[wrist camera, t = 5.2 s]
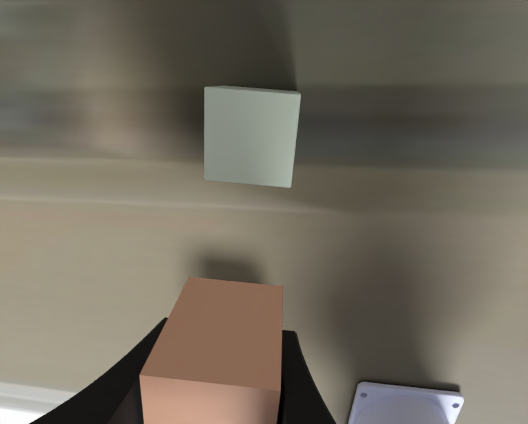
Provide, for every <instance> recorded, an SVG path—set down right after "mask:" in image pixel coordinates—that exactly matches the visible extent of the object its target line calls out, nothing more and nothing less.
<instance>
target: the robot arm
mask: <svg viewBox="0 0 528 424" xmlns="http://www.w3.org/2000/svg"><path fill="white" fill-rule="evenodd" d="M167 319H168V318H164V319H163V320H162V321H161V322H160V323H159V324H158V325H157V326H156V327H155V328H154V329H153V330H152V331H151V332H150V333H149V334H148V335H147V336H146V337H145V338H144V339H143V340H142V341H140V342H139V343H138V344H137V345H136V346H135V347H134V348H133V349H132V350H131V351H130V352H129V353H128V354H127V355H125V356H124V357H123V358H122V359H121V360H120V361H119V362H117V363H116V364H115V365H114V366H113V367H111V368H110V369H109V370H108V371H107V372H106V373H104V374H103V375H102V376H100V377H99V378H98V379H97V380H95V381H94V382H93V383H91V384H90V385H89V386H87V387H86V388H85V389H83V390H82V391H80V392H79V393H78V394H76V395H75V396H73V397H72V398H70V399H69V400H67V401H66V402H64V403H63V404H61V405H59V406H58V407H56V408H55V409H53V410H52V411H50V412H48V413H47V414H45V415H43V416H42V417H40V418H38V419H37V420H35V421H33V422H31V423H30V424H144V418H143V408H142V397H141V387H140V376H139V375H140V373H141V371H142V369H143V367H144V365H145V363H146V361H147V359H148V357H149V355H150V353H151V351H152V349H153V347H154V345H155V343H156V341H157V339H158V337H159V335H160V333H161V331H162V329H163V327H164V325H165V323H166V321H167ZM463 402H464V398H463V396H462V394H461V393H459V392H452V391H443V390H433V389H424V388H415V387H406V386H397V385H388V384H379V383H370V382H361V383H359V384H358V386H357V390H356V394H355V398H354V402H353V406H352V410H351V414H350V418H349V422H348V424H454V423H455V421H456V419H457V416H458V414H459V412H460V409H461V407H462V405H463ZM277 424H336V422H335V421H334V419H333V417H332V415H331V414H330V412H329V410H328V409H327V407H326V405H325V403H324V401H323V399H322V397H321V395H320V393H319V391H318V389H317V387H316V385H315V383H314V381H313V379H312V376H311V374H310V372H309V369H308V367H307V365H306V362H305V359H304V357H303V354H302V351H301V348H300V345H299V341H298V337H297V334H296V332H295V331H287V330H282V355H281V392H280V400H279V408H278V416H277Z"/></svg>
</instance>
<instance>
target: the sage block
mask: <svg viewBox="0 0 528 424" xmlns="http://www.w3.org/2000/svg"><path fill="white" fill-rule="evenodd" d="M300 99H301V94H300V93H299V92H298V91H285V90H273V89H260V88H248V87H236V86H212V87H204V180H211V181H222V182H233V183H244V184H255V185H266V186H278V187H289V188H291V181H292V172H293V163H294V154H295V145H296V136H297V127H298V118H299V108H300Z"/></svg>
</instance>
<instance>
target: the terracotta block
mask: <svg viewBox="0 0 528 424" xmlns="http://www.w3.org/2000/svg"><path fill="white" fill-rule="evenodd" d="M282 311H283V286H275V285H265V284H255V283H246V282H236V281H226V280H216V279H206V278H196V277H189V278H188V280H187V282H186V284H185V286H184V288H183V290H182V292H181V294H180V296H179V298H178V300H177V302H176V304H175V306H174V308H173V310H172V312H171V314H170V316H169V318H168V319H167V321H166V323H165V325H164V327H163V329H162V331H161V333H160V335H159V337H158V339H157V341H156V343H155V345H154V347H153V349H152V351H151V353H150V355H149V357H148V359H147V361H146V363H145V365H144V367H143V369H142V371H141V373H140V375H139V376H140V387H141V397H142V408H143V418H144V424H277V416H278V408H279V400H280V392H281V355H282Z"/></svg>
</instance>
